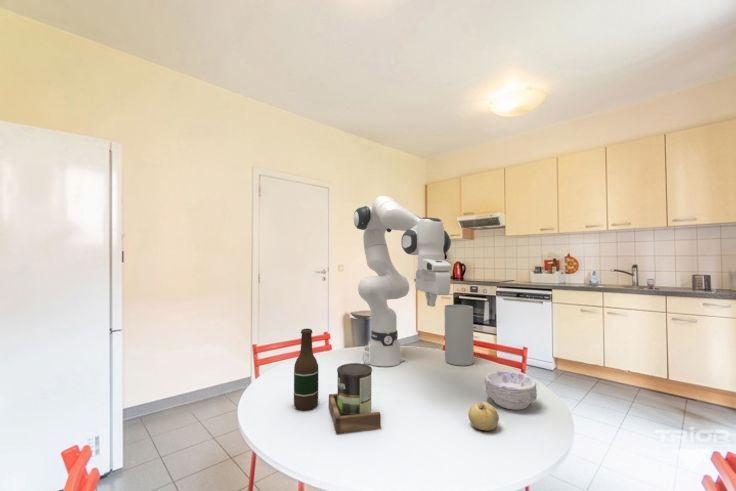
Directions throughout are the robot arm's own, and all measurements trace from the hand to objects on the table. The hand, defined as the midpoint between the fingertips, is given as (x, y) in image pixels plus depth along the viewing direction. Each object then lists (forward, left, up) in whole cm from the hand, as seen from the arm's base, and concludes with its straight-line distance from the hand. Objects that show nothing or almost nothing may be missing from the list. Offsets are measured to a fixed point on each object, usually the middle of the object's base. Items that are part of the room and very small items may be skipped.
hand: (431, 306), depth 110 cm
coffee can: (+6, -27, -31) cm, 42 cm away
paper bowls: (+9, +23, -31) cm, 40 cm away
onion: (+20, +6, -31) cm, 37 cm away
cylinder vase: (-34, +29, -31) cm, 54 cm away
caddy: (+6, -28, -31) cm, 42 cm away
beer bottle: (-5, -41, -31) cm, 51 cm away
